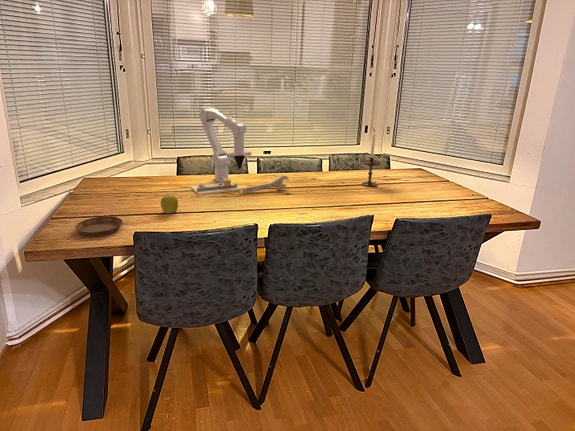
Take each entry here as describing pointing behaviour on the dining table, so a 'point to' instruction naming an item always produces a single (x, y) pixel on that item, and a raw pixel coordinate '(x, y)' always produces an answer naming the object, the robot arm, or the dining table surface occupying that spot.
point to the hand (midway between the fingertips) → (239, 168)
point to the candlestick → (371, 163)
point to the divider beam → (203, 188)
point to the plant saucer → (99, 226)
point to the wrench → (266, 185)
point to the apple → (169, 204)
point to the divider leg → (225, 181)
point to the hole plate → (213, 190)
